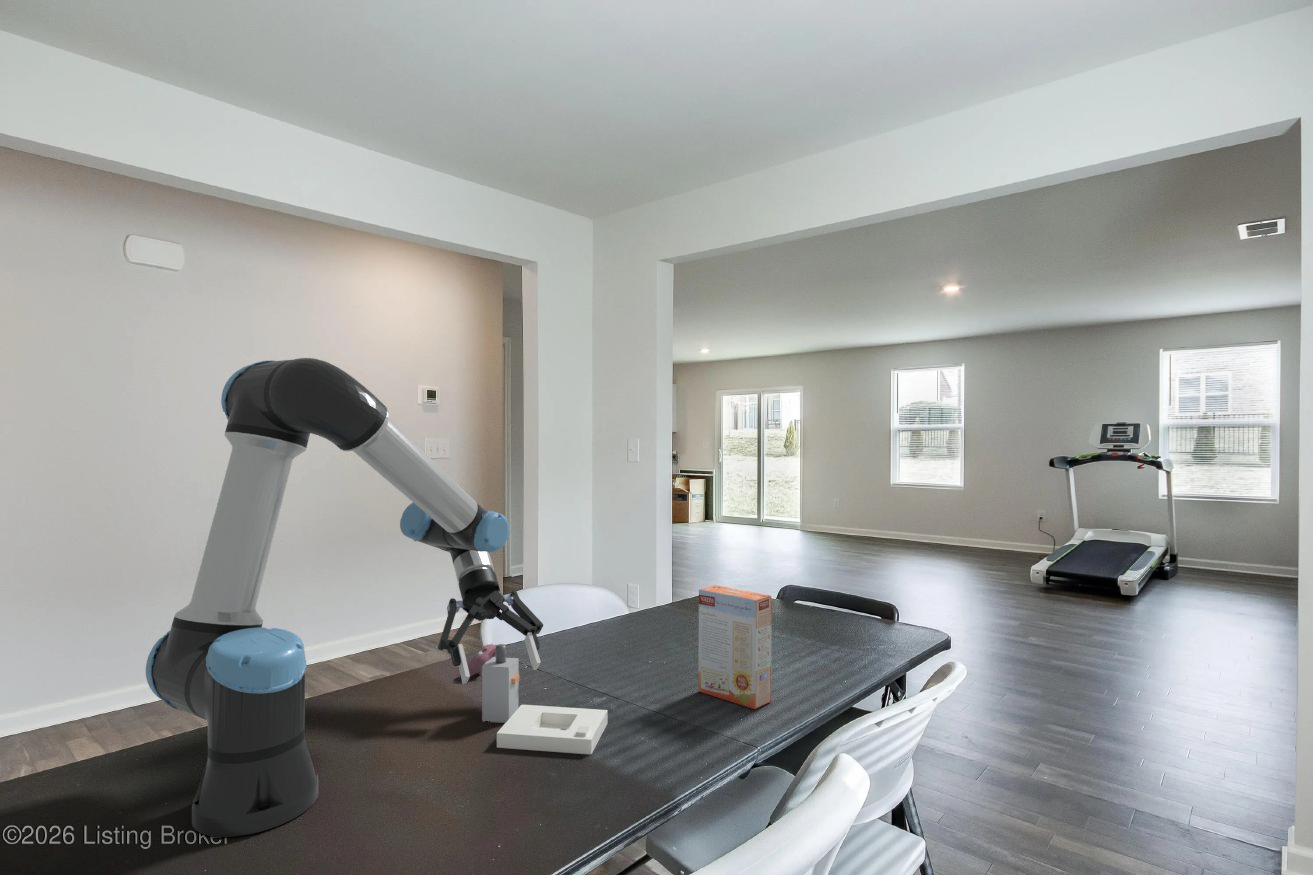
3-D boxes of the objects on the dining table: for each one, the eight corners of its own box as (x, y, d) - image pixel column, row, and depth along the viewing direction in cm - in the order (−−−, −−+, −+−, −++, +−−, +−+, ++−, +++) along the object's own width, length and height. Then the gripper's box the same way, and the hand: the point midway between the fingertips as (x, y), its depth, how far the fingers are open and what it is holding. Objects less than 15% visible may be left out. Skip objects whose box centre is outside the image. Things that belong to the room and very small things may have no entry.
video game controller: (474, 687, 144) (488, 658, 143) (457, 675, 145) (470, 647, 144) (494, 671, 153) (508, 644, 153) (478, 660, 154) (491, 634, 154)
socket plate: (496, 747, 113) (496, 729, 113) (521, 717, 125) (521, 701, 124) (591, 754, 110) (591, 735, 110) (607, 723, 122) (607, 706, 122)
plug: (482, 721, 123) (482, 649, 123) (492, 710, 128) (493, 640, 128) (512, 723, 122) (512, 650, 122) (521, 711, 127) (521, 642, 127)
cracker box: (772, 702, 132) (773, 594, 132) (754, 711, 128) (755, 599, 128) (715, 683, 142) (716, 583, 142) (697, 691, 137) (697, 587, 137)
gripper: (529, 580, 148) (558, 670, 136) (410, 595, 135) (430, 696, 122) (539, 560, 144) (570, 651, 131) (416, 573, 130) (438, 675, 118)
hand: (502, 673), depth 127 cm, fingers open, 13 cm apart
